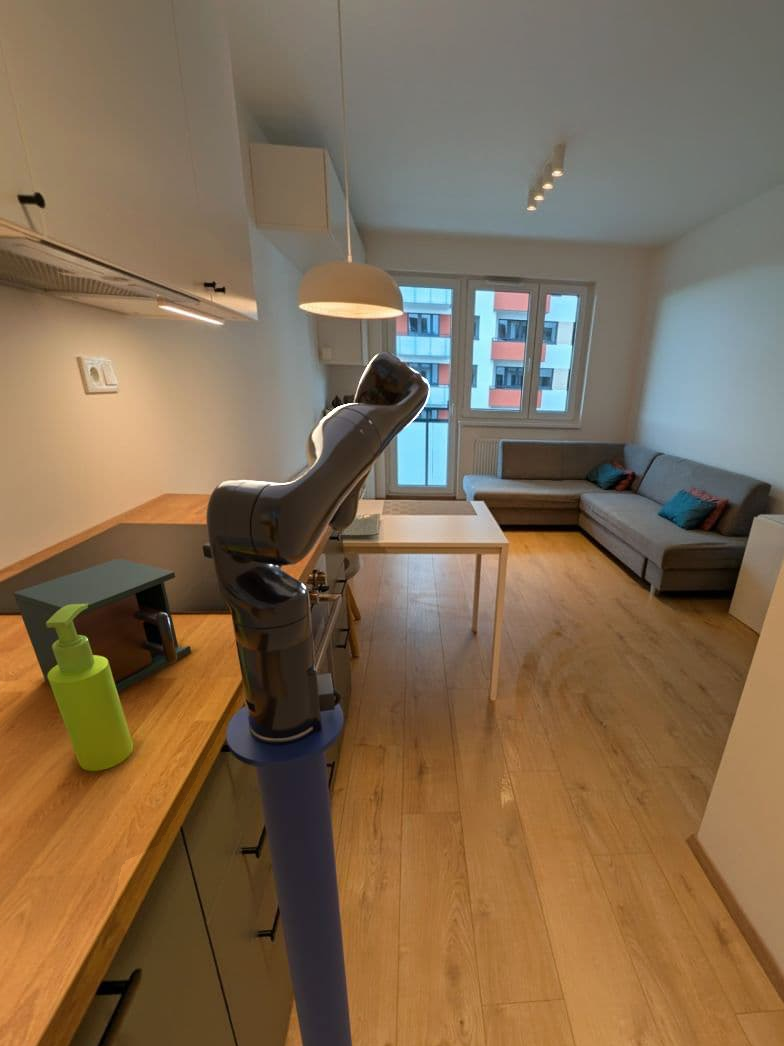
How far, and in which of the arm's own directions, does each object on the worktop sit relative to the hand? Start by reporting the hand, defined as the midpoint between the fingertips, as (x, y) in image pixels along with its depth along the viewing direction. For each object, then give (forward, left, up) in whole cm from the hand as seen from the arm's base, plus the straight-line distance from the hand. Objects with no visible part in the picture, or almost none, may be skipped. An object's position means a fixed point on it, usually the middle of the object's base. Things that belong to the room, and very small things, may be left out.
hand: (206, 552), depth 81 cm
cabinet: (+16, +1, -18) cm, 24 cm away
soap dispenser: (+12, +23, -18) cm, 32 cm away
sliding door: (+12, +9, -17) cm, 23 cm away
